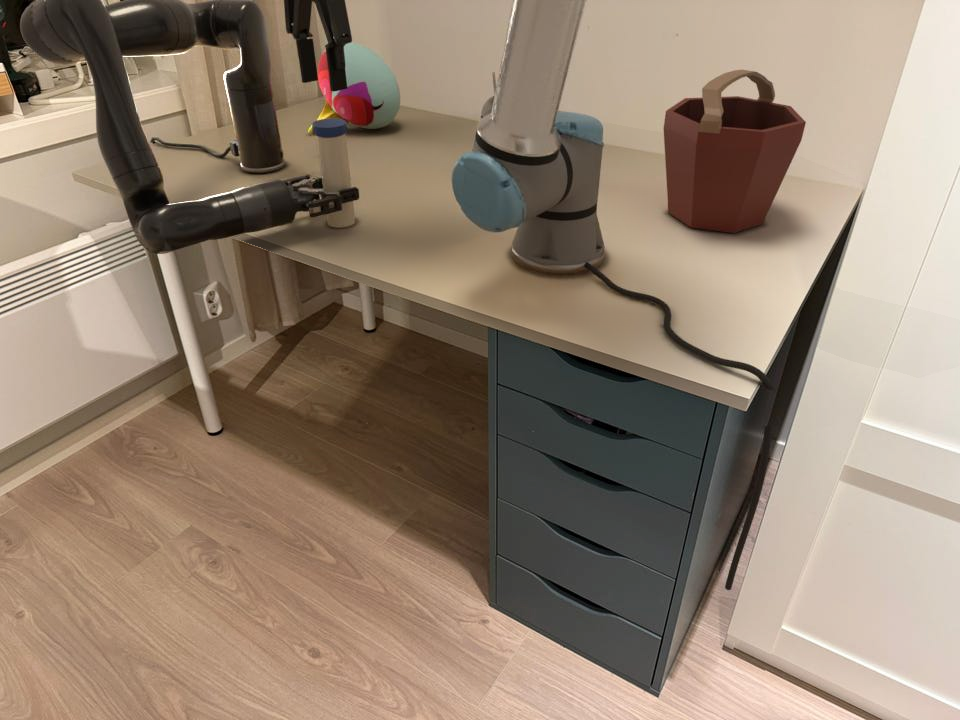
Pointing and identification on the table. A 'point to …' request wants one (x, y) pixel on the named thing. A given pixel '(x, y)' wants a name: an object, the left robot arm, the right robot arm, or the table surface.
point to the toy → (361, 90)
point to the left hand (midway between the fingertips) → (347, 186)
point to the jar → (336, 176)
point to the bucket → (728, 154)
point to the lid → (329, 127)
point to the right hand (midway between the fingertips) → (324, 85)
